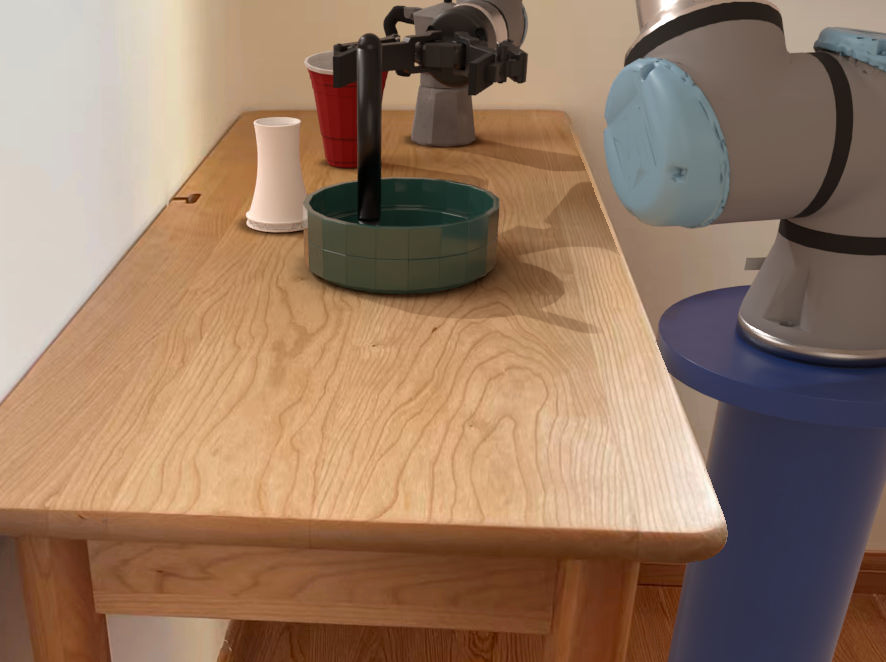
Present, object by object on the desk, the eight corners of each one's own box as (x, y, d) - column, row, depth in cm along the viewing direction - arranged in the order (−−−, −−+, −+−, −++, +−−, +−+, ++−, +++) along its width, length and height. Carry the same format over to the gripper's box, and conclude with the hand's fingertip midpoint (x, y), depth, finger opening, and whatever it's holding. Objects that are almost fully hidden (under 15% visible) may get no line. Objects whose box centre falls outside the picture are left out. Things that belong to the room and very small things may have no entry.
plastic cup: (309, 174, 138) (306, 65, 131) (304, 154, 147) (301, 51, 140) (397, 172, 139) (399, 62, 132) (387, 152, 148) (388, 48, 141)
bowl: (496, 241, 115) (501, 178, 111) (493, 300, 100) (498, 230, 97) (320, 237, 117) (318, 175, 113) (291, 294, 102) (289, 225, 99)
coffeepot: (499, 136, 155) (509, -17, 144) (478, 150, 148) (486, -9, 137) (395, 128, 160) (397, -20, 149) (370, 141, 153) (370, -13, 142)
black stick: (394, 252, 110) (397, 29, 99) (389, 266, 107) (392, 36, 95) (349, 251, 111) (347, 29, 99) (343, 265, 107) (340, 36, 96)
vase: (243, 215, 124) (237, 115, 118) (311, 211, 125) (308, 112, 119) (250, 234, 118) (244, 130, 112) (321, 230, 119) (319, 127, 113)
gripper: (574, 88, 122) (528, 127, 106) (357, 76, 129) (284, 111, 113) (581, 8, 117) (535, 36, 101) (357, 0, 125) (280, 26, 109)
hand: (403, 75), depth 107 cm, fingers open, 13 cm apart
